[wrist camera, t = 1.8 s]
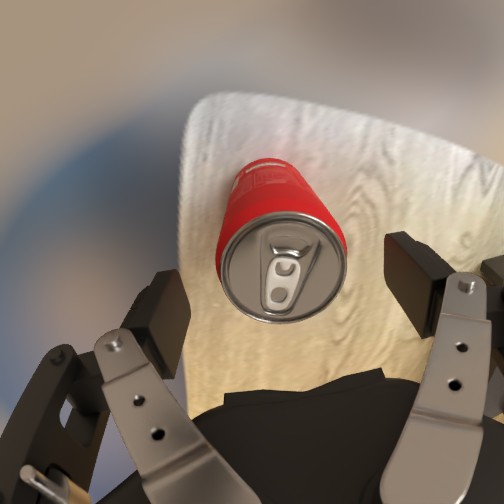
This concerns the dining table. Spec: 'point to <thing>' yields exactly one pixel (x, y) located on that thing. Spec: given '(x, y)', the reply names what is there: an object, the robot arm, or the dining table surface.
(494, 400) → the shelf
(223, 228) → the beverage can
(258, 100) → the dining table surface
